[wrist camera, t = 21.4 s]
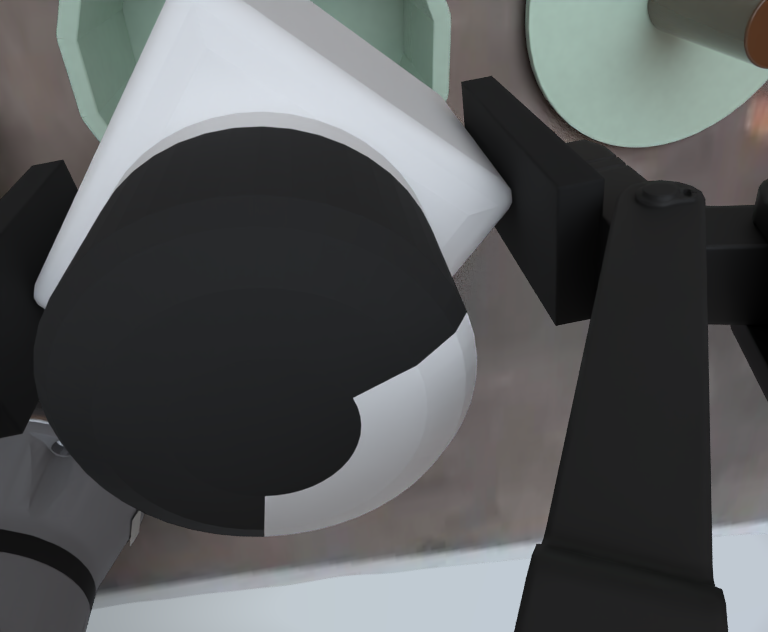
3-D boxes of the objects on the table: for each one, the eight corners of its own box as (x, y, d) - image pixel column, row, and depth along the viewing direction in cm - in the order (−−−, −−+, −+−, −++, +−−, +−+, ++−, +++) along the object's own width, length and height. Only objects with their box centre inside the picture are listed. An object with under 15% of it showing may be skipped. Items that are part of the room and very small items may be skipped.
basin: (222, 212, 35) (208, 286, 28) (40, -56, 27) (-40, -40, 20) (456, 98, 33) (497, 149, 26) (335, -229, 25) (352, -273, 18)
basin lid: (561, 183, 37) (632, 259, 29) (481, -96, 28) (552, -92, 20) (816, 67, 34) (963, 116, 27) (813, -274, 26) (1028, -341, 18)
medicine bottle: (109, 172, 18) (-112, 515, 8) (223, -65, 15) (97, 15, 5) (319, 280, 21) (345, 626, 11) (448, 99, 18) (641, 351, 8)
